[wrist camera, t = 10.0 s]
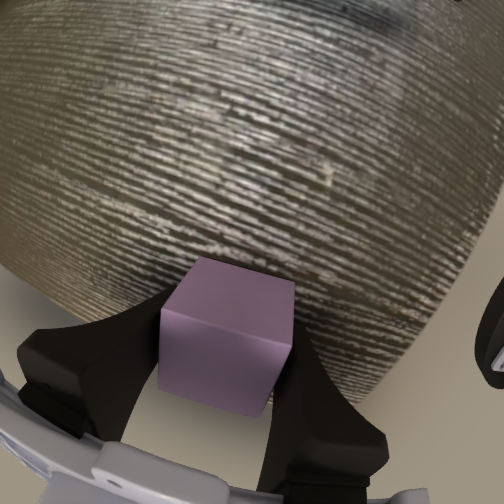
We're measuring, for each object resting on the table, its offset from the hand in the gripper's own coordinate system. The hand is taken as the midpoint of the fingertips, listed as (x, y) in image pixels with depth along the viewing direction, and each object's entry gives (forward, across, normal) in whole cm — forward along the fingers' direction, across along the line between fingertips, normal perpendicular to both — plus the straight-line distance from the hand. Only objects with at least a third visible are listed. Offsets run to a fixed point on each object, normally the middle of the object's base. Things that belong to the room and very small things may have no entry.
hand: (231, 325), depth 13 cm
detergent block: (+1, 0, 0) cm, 1 cm away
